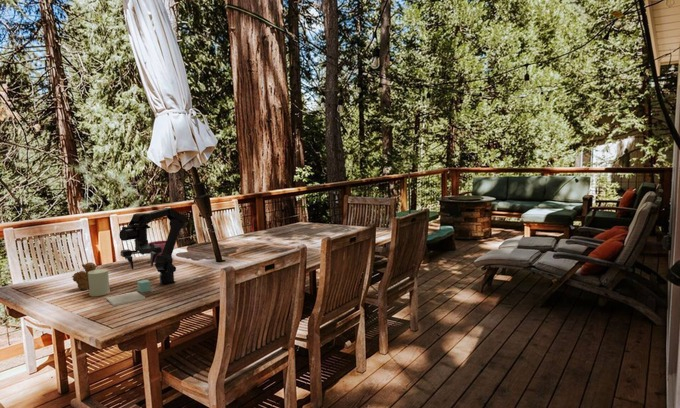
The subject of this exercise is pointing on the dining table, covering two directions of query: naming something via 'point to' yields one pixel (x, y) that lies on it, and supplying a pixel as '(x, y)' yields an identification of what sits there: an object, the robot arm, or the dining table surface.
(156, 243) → the plant pot
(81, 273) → the stuffed squirrel
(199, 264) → the dining table surface
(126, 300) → the plate
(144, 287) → the cube
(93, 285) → the can
